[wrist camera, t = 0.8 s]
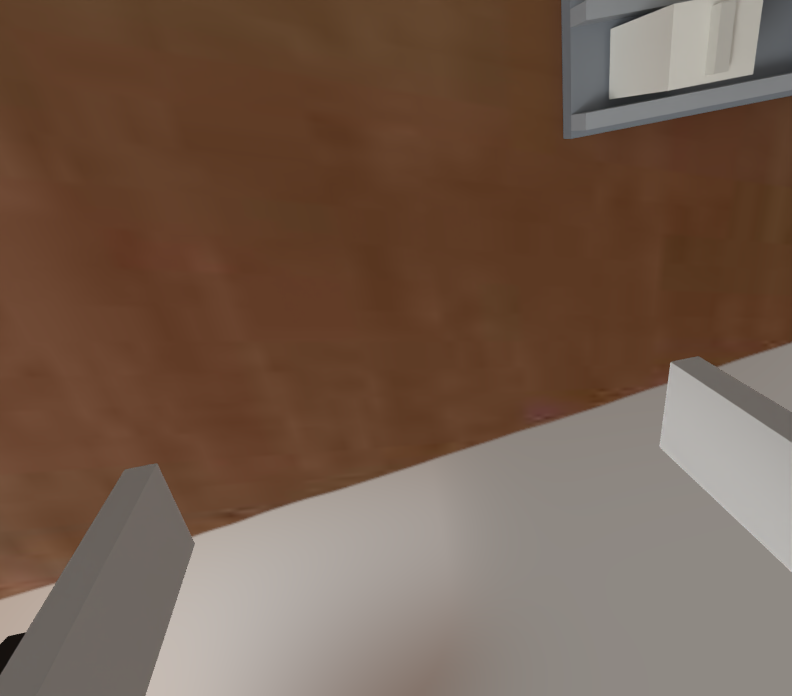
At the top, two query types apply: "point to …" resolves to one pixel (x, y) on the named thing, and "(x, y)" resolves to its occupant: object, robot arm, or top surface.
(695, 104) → the switch board
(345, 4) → the top surface
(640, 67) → the white block with handle
